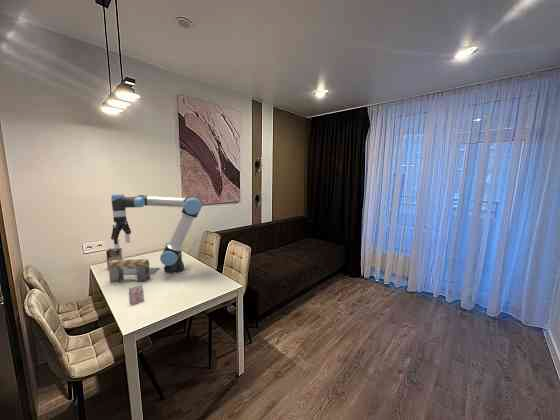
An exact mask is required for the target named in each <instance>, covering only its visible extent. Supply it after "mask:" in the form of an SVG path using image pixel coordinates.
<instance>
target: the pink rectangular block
mask: <svg viewBox="0 0 560 420" xmlns="http://www.w3.org/2000/svg"><path fill="white" fill-rule="evenodd" d="M144 295H145V293H144V288H143V284H142V283H141V284H138V285H136V286H135V285H134V286H132V287H129V291H128V302H129V304H130V305H131V306H133V305H136V304H138V303H142V302H143V301H145V296H144Z"/></svg>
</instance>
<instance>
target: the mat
mask: <svg viewBox="0 0 560 420" xmlns="http://www.w3.org/2000/svg"><path fill="white" fill-rule="evenodd" d="M159 269H160V267H149V273H150V275H154V274H156V273H157V271H159ZM123 275H124V276H127V275H129V276H130V275H137V270H136V269H123Z"/></svg>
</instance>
